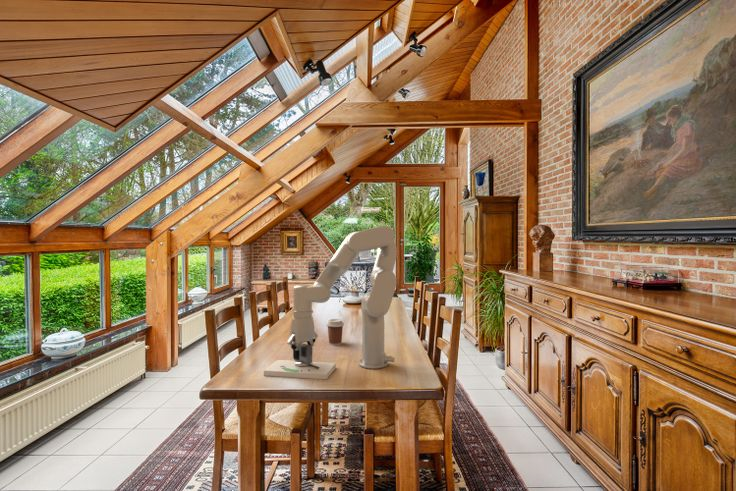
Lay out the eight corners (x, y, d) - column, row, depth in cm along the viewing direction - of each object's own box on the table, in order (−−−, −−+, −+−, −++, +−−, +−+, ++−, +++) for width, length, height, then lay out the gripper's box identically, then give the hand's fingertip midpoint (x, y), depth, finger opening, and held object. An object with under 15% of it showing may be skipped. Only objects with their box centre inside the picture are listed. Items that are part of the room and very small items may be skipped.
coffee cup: (325, 345, 205) (325, 322, 204) (327, 341, 214) (326, 318, 213) (343, 345, 205) (343, 322, 204) (344, 341, 214) (344, 318, 214)
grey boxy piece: (290, 363, 169) (290, 344, 169) (303, 359, 175) (303, 341, 174) (312, 370, 161) (311, 350, 160) (324, 366, 166) (324, 347, 166)
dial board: (335, 367, 171) (335, 362, 171) (326, 379, 157) (326, 373, 157) (277, 364, 176) (277, 359, 176) (263, 375, 162) (263, 370, 162)
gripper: (312, 310, 178) (312, 351, 178) (280, 316, 165) (280, 360, 165) (324, 312, 173) (324, 354, 173) (292, 319, 160) (292, 364, 160)
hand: (303, 356), depth 169 cm, fingers open, 6 cm apart
